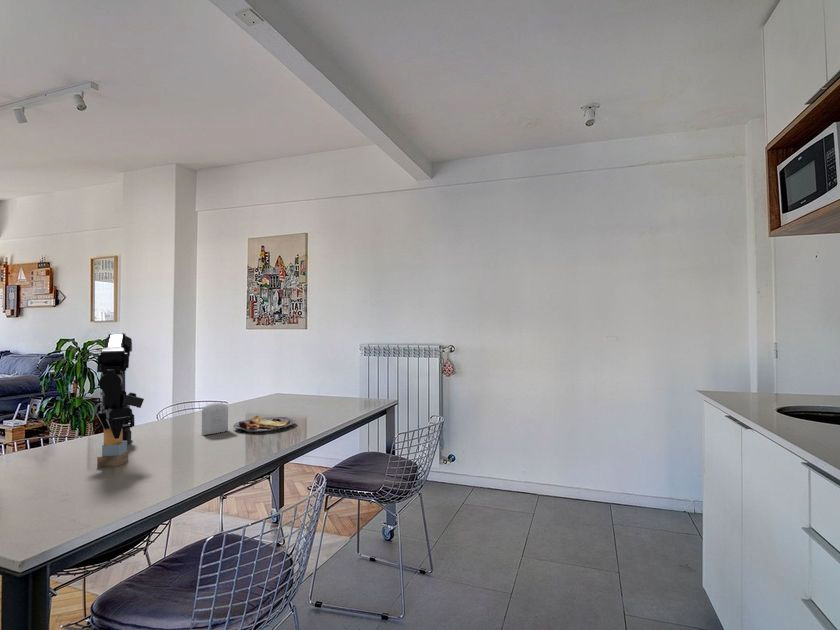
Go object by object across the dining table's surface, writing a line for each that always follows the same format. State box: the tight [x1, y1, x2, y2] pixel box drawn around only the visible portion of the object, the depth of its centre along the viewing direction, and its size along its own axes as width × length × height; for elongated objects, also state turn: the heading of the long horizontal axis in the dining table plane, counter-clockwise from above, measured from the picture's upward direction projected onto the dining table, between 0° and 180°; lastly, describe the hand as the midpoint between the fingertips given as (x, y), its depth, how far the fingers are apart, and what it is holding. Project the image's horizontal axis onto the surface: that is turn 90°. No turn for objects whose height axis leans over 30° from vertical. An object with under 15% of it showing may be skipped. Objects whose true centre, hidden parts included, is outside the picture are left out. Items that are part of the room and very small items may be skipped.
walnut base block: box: [96, 450, 129, 468], centre depth 142 cm, size 6×6×4 cm
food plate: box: [233, 415, 296, 433], centre depth 191 cm, size 25×23×4 cm
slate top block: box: [101, 441, 128, 456], centre depth 143 cm, size 5×5×4 cm
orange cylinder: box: [103, 429, 122, 445], centre depth 142 cm, size 5×5×4 cm
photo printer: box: [201, 402, 229, 436], centre depth 182 cm, size 10×4×12 cm, turn 134°
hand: (112, 436), depth 142 cm, fingers open, 9 cm apart
